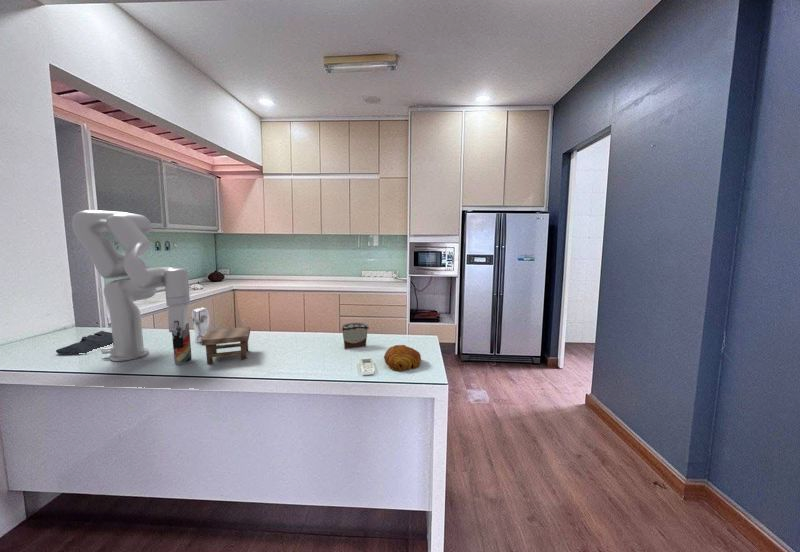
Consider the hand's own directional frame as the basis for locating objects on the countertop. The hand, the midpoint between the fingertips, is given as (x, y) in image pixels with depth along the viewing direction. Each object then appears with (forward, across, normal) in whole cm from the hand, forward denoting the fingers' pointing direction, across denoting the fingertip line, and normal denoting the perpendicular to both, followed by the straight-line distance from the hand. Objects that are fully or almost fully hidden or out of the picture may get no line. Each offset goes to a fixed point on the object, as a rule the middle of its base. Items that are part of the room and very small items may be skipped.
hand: (181, 343), depth 130 cm
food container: (+8, +4, +67) cm, 68 cm away
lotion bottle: (+7, 0, 0) cm, 7 cm away
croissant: (+8, +31, +80) cm, 86 cm away
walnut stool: (+7, 0, +16) cm, 18 cm away
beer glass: (+7, -27, +2) cm, 28 cm away
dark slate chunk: (+8, -34, -43) cm, 55 cm away
